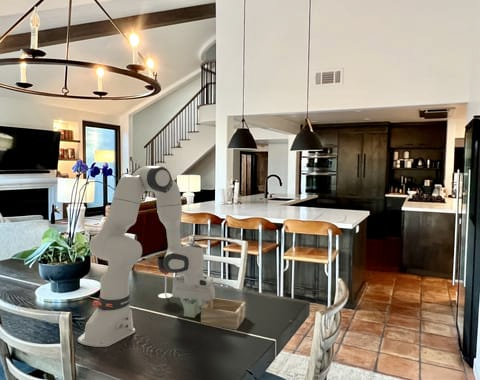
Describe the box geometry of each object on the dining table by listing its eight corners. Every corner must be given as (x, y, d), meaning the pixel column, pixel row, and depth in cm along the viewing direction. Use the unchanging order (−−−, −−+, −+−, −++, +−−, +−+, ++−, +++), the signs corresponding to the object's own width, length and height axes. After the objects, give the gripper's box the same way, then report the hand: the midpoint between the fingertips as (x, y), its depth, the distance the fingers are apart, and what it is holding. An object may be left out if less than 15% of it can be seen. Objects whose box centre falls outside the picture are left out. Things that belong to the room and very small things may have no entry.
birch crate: (236, 329, 156) (236, 313, 155) (200, 324, 160) (201, 308, 160) (245, 317, 169) (245, 301, 169) (212, 312, 173) (212, 297, 173)
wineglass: (172, 298, 191) (172, 259, 190) (155, 297, 191) (155, 259, 190) (175, 293, 199) (175, 256, 197) (159, 292, 199) (159, 255, 198)
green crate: (194, 317, 167) (194, 304, 167) (183, 316, 168) (184, 303, 168) (201, 310, 176) (202, 298, 175) (191, 309, 177) (192, 296, 177)
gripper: (169, 278, 171) (169, 307, 172) (211, 282, 165) (211, 313, 166) (175, 274, 177) (175, 302, 178) (216, 279, 172) (215, 308, 172)
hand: (193, 308), depth 172 cm, fingers open, 7 cm apart
